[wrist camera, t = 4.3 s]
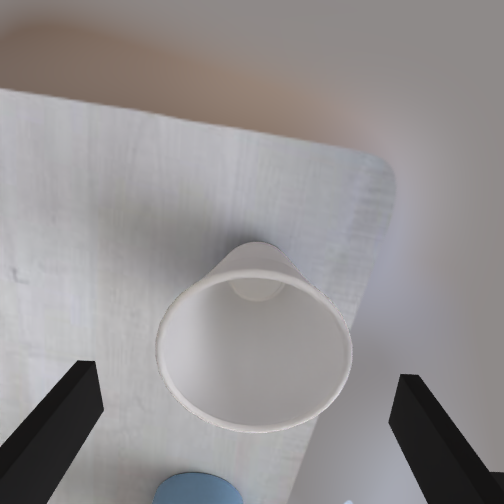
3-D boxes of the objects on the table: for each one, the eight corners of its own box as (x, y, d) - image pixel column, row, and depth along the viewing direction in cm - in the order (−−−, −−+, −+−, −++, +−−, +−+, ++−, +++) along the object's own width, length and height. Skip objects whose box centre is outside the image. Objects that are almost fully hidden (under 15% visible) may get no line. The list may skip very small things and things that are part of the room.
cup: (258, 192, 22) (256, 224, 12) (337, 276, 24) (394, 367, 14) (176, 271, 25) (114, 356, 14) (254, 342, 27) (250, 460, 16)
